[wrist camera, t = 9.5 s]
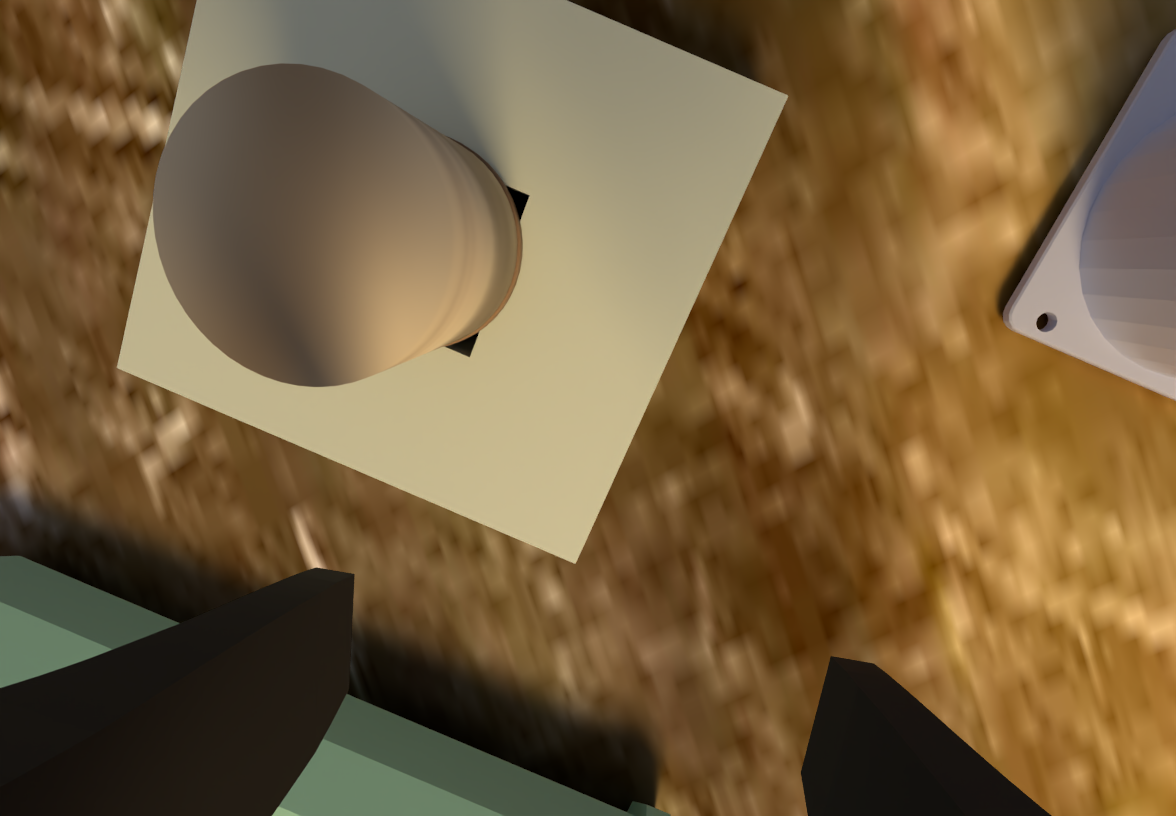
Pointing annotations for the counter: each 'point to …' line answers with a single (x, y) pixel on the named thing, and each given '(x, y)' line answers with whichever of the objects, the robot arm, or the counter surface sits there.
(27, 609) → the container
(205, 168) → the peg
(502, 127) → the board
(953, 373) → the counter surface
